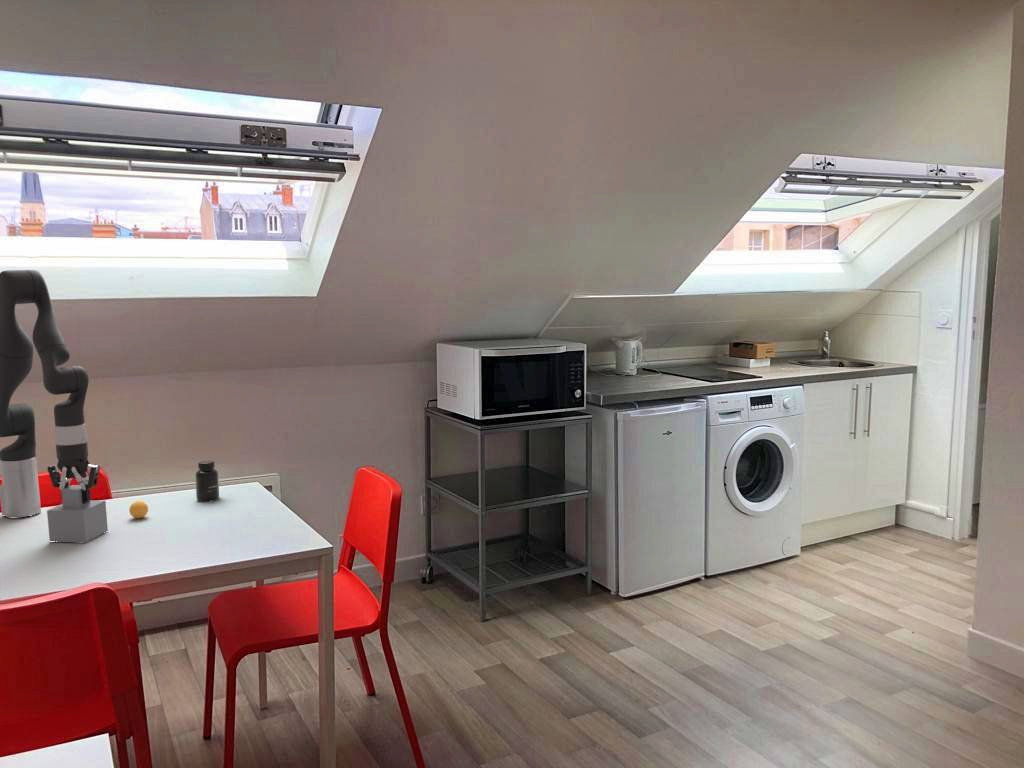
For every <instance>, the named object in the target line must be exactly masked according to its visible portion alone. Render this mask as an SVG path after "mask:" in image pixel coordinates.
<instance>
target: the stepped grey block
mask: <svg viewBox="0 0 1024 768" xmlns="http://www.w3.org/2000/svg"><path fill="white" fill-rule="evenodd" d="M81 491H82V488H81V486H80V484H72V485H69V487H67V488H64V489H62V490H60V493H61V492H62V498H61V501H62V502H61V503H60V504H59V505H57V506H54V507H52V508H49V509H47V510H46V515H47V524H48V525H47V526H48V535H49V542H50V541H55V542H56V541H57V542H77V543H76V544H79V543H78V542H83V543H82V544H87V543H89V542H91V541H92V540H91V539H93V538H95V537H97V536H98V537H100V536H102V535H103V534H102V533H104V532H106V531H109V529H108V516H107V515H108V514H107V503H106V500H94V499H93V500H92V499H90V500H89V502H88V503H86V504H83V503H82V493H81ZM106 533H107V532H106ZM101 534H102V535H101ZM104 534H105V533H104ZM99 535H100V536H99ZM98 537H97V538H98ZM95 539H96V538H95ZM90 540H91V541H90ZM93 540H94V539H93ZM88 541H89V542H88ZM86 542H87V543H86Z"/></svg>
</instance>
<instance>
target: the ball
mask: <svg viewBox="0 0 1024 768" xmlns="http://www.w3.org/2000/svg"><path fill="white" fill-rule="evenodd" d="M128 509H129V513H130V516H132V518H135V519H142V518H145V516H146V515H147V514H148V512H149V507H148V504H147V503H146V502H144V501H143V500H136V501H134V502H132V504H131V505H130V507H129V508H128Z"/></svg>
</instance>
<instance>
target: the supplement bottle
mask: <svg viewBox="0 0 1024 768" xmlns="http://www.w3.org/2000/svg"><path fill="white" fill-rule="evenodd" d="M197 468H198V470H197V471H196V472H195V473H194V476H195V493H196V494H195V496H196V500H197V501H198V500H199V501H198V502H211V501H210V500H213V501H216V499H217V500H218V499H219V498H220V488H219V487H220V483H219V472H218V470H217V469H215V461H214V460H201V461H198V464H197Z"/></svg>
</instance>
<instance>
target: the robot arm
mask: <svg viewBox="0 0 1024 768" xmlns="http://www.w3.org/2000/svg"><path fill="white" fill-rule="evenodd" d="M27 304H34V305H35V306H36V308H37V313H38V314H37V317H36V321H35V323H34V327H33V330H32V340H31V338H30V337H29V335H28V334H27V332H26V331H25V330H24V329H23V328H22V326H21V324H20V323H19V322H18V320H17V316H16V305H27ZM34 349H35V350H36V352H37V354H38V357H39V359H40V363H41V368H42V377H43V378H42V380H43V387H44V389H45V390H46V391H47V392H48V393H49V394H50V395H54V396H58V395H64V394H65V395H66V394H69V397H68V398H67V399H66V400H64V401H61V402H59V403H57V404H55V405H54V407H53V416H54V441H55V450H56V459H57V460H58V461H57V464H54V463H53V464H51V465H50V466H47V473H48V474H49V478H50V481H51V484H52V486H53V488H58V489H59V490H60V497H61V498H60V499H62V492H61V490H62V489H64V488H67V487H69V486H71V485H70V484H71V481H72V480H73V479H75V480H76V481H77V483H78V485H80V486H81V488H82V491H81V493H82V503H83V504H86V503H88V502H89V500H92V498H91V489H93V488H94V487H96V486H97V485H98V481H99V475H100V469H101V466H100V465H99V464H96V465H94V464H90V462H89V460H88V458H89V446H88V434H87V429H86V424H85V423H86V422H85V412H84V411H85V410H84V409H85V404H86V403H85V402H86V401H85V400H86V396H87V391H88V387H89V382H90V381H89V375H88V373H87V370H86V369H84V368H83V367H82V366H80V365H78V366H77V365H72V366H64V367H60V366H62V365H64V364H66V363H67V362H68V361H69V359H70V357H71V354H70V351H69V348H68V347H67V344H66V342H65V340H64V338H63V335H62V333H61V332H60V328H59V326H58V323H57V318H56V314H55V311H54V307H53V304H52V300H51V296H50V292H49V289H48V285H47V283H46V280H45V277H44V276H43V275H42V273H41V272H40V271H38V270H36V269H13V270H12V269H10V270H2V271H1V272H0V438H9V437H15V436H18V437H17V439H16V440H15V441H13V442H12V443H11V444H9V445H7V446H5V447H3V448H2V449H0V473H1V474H0V475H1V482H2V483H1V484H0V508H1V516H2V515H5V516H7V517H25V516H30V515H34V516H36V515H35V514H37V515H39V514H40V513H41V512H42V508H41V506H42V505H41V497H40V486H39V484H40V483H39V474H38V465H37V464H38V463H37V454H36V451H37V441H36V439H37V438H36V418H35V413H34V412H35V411H34V409H33V407H32V405H30V404H29V403H26V402H22V403H13V404H10V402H11V399H12V397H13V395H14V393H15V392H16V391H17V389H18V387H20V385H21V384H22V383H23V382H24V381H25V380H26V378H27V377H28V375H29V374H30V372H31V371H32V369H33V362H34ZM60 472H61V473H60ZM38 513H39V514H38ZM7 517H6V518H7ZM30 517H31V516H30ZM25 518H26V517H25Z"/></svg>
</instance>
